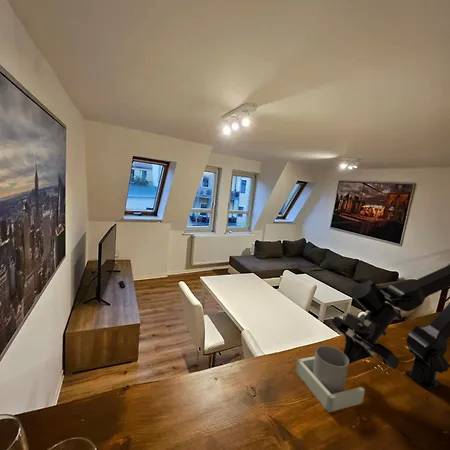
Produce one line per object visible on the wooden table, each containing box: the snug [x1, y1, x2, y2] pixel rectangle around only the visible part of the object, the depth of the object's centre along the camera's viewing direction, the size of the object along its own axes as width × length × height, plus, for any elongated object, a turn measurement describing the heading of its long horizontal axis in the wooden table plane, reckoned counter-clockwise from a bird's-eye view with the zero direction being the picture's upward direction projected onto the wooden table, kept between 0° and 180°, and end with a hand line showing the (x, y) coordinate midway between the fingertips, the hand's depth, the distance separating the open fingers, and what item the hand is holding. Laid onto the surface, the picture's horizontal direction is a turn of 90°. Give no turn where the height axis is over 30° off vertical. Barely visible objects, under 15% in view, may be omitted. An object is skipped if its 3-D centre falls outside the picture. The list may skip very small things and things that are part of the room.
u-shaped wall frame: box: [295, 355, 366, 413], centre depth 69 cm, size 11×14×4 cm
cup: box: [311, 345, 350, 394], centre depth 68 cm, size 8×8×10 cm
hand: (342, 363), depth 69 cm, fingers closed, pressing on cup
